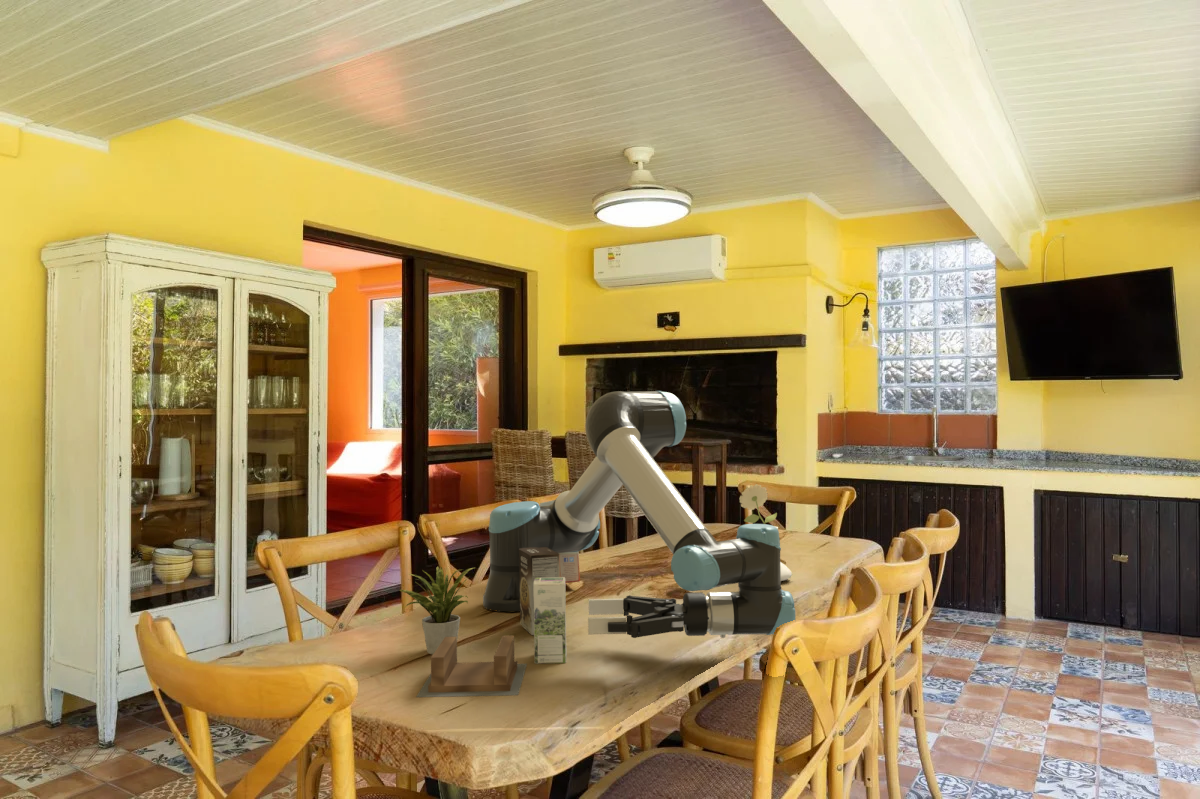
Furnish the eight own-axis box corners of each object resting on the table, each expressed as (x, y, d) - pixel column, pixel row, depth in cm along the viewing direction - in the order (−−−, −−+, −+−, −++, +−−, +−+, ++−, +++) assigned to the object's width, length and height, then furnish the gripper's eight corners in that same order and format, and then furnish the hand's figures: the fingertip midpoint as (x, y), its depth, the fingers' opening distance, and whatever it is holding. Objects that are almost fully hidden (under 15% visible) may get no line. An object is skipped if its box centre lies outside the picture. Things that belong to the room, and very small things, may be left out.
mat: (527, 665, 143) (527, 663, 143) (518, 696, 127) (518, 694, 127) (436, 667, 143) (436, 665, 143) (416, 698, 127) (416, 696, 127)
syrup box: (566, 655, 149) (565, 575, 149) (566, 665, 143) (565, 582, 143) (535, 655, 149) (534, 576, 149) (534, 666, 143) (532, 583, 143)
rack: (517, 667, 141) (516, 635, 141) (510, 690, 129) (509, 656, 129) (442, 668, 141) (442, 636, 141) (428, 692, 129) (427, 657, 129)
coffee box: (518, 625, 171) (517, 548, 171) (548, 621, 173) (547, 545, 173) (530, 635, 162) (529, 554, 163) (561, 632, 165) (560, 552, 165)
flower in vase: (789, 576, 216) (787, 482, 217) (795, 585, 205) (792, 485, 205) (739, 576, 217) (737, 482, 218) (742, 585, 206) (740, 486, 206)
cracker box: (581, 582, 203) (577, 498, 207) (559, 584, 201) (554, 499, 205) (564, 580, 216) (560, 501, 220) (542, 581, 214) (538, 502, 217)
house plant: (450, 635, 163) (448, 554, 164) (497, 647, 155) (496, 561, 155) (391, 652, 152) (389, 565, 153) (438, 666, 144) (437, 573, 144)
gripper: (717, 655, 133) (588, 658, 133) (698, 617, 158) (589, 619, 158) (716, 609, 133) (587, 612, 133) (697, 578, 158) (588, 580, 158)
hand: (588, 616), depth 146 cm, fingers open, 13 cm apart
